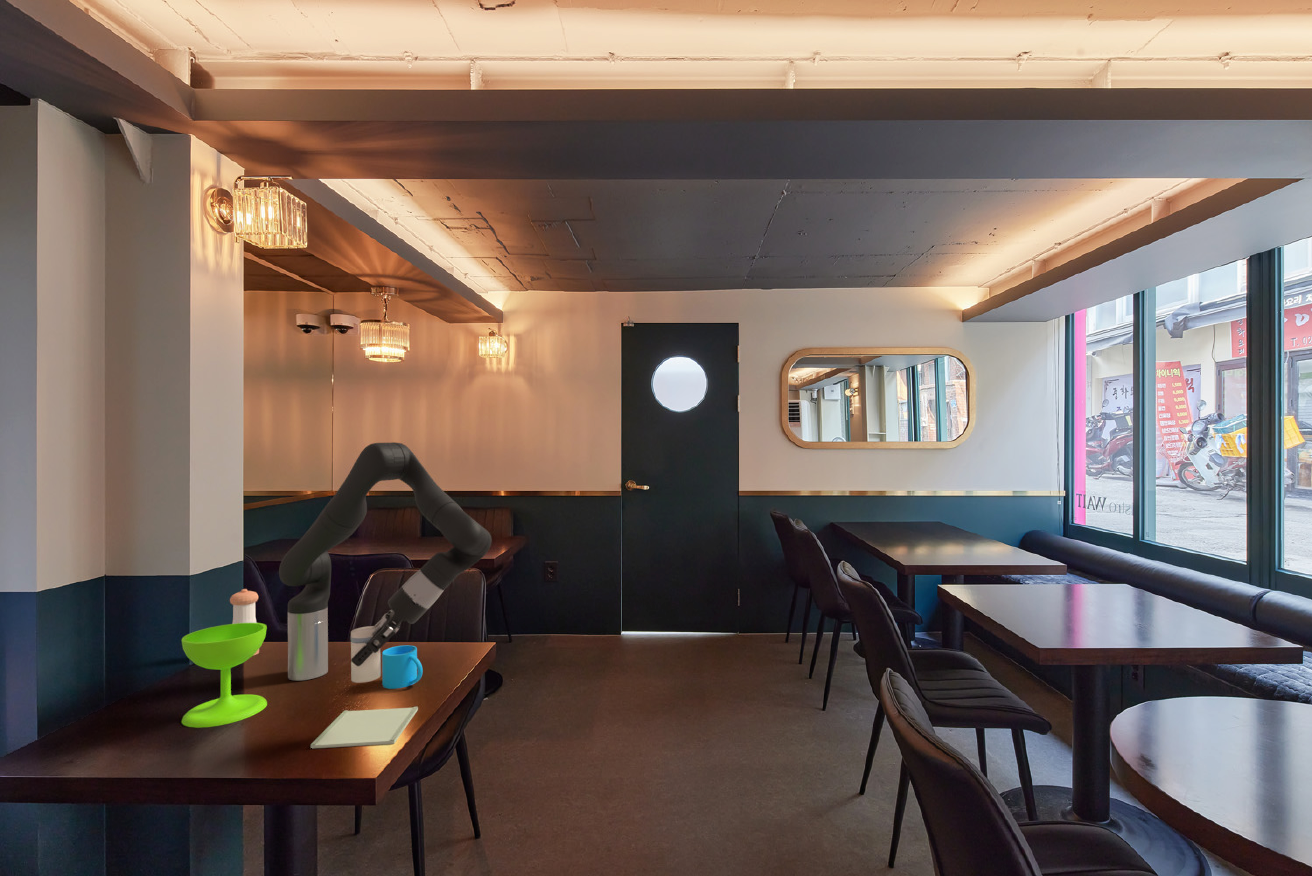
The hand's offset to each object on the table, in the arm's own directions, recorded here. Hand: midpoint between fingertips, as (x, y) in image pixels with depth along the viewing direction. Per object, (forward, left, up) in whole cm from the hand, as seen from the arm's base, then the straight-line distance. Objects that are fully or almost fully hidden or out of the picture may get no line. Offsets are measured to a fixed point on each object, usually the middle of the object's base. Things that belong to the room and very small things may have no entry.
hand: (356, 658), depth 128 cm
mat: (-1, +2, -15) cm, 15 cm away
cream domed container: (0, +2, -4) cm, 5 cm away
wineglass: (-14, -34, -16) cm, 40 cm away
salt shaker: (-56, -53, -15) cm, 79 cm away
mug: (-26, +2, -16) cm, 31 cm away
